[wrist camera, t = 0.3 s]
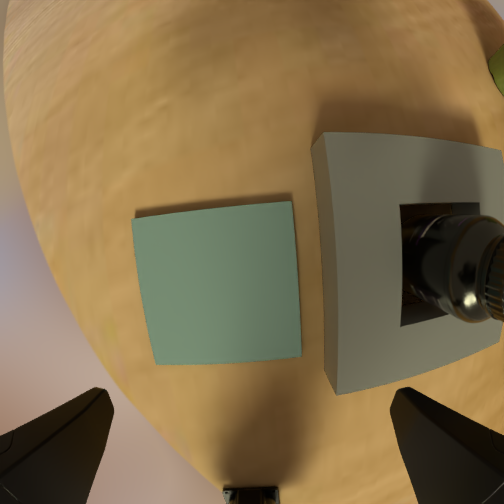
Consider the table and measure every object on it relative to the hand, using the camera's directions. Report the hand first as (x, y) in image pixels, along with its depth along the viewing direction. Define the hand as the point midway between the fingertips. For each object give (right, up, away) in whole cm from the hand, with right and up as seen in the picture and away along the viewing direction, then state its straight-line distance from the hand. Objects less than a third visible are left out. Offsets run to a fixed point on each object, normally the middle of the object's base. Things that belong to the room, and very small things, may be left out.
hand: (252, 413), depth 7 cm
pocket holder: (+14, +4, +14) cm, 20 cm away
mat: (-3, +2, +14) cm, 14 cm away
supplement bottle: (+14, +4, +14) cm, 20 cm away
